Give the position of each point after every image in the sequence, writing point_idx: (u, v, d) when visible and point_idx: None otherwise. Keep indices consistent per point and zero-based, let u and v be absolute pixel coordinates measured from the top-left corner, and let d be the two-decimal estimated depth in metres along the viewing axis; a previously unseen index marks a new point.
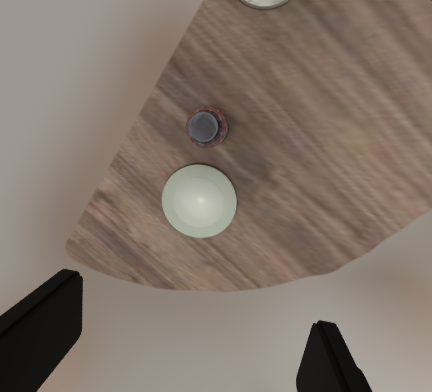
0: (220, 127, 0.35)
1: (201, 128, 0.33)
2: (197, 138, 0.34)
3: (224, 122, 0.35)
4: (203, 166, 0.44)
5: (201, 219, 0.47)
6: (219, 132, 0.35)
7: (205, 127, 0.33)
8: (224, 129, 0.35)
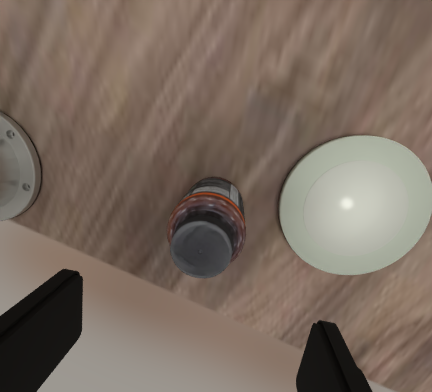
0: (198, 209, 0.17)
1: (204, 253, 0.16)
2: (225, 259, 0.16)
3: (189, 201, 0.18)
4: (282, 211, 0.25)
5: (390, 200, 0.23)
6: (208, 210, 0.17)
7: (199, 247, 0.16)
8: (202, 199, 0.17)
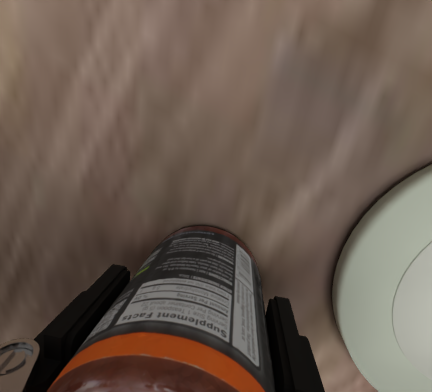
0: None
1: None
2: None
3: None
4: (345, 302, 0.12)
5: None
6: None
7: None
8: None
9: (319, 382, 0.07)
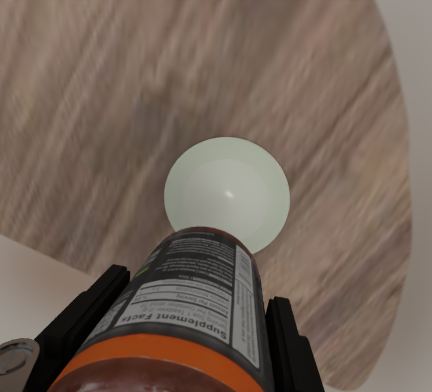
0: None
1: None
2: None
3: None
4: (166, 202, 0.28)
5: (253, 193, 0.27)
6: None
7: None
8: None
9: (319, 382, 0.07)
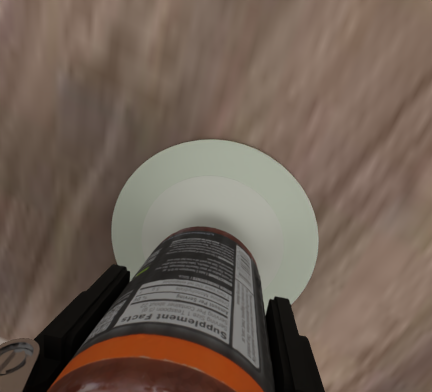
0: None
1: None
2: None
3: None
4: (115, 244, 0.18)
5: (257, 233, 0.16)
6: None
7: None
8: None
9: (319, 381, 0.07)
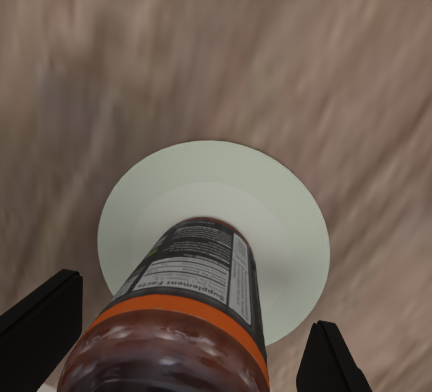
0: (128, 378, 0.05)
1: None
2: None
3: (107, 338, 0.06)
4: (101, 257, 0.16)
5: (261, 246, 0.14)
6: (159, 384, 0.05)
7: None
8: (143, 337, 0.06)
9: None
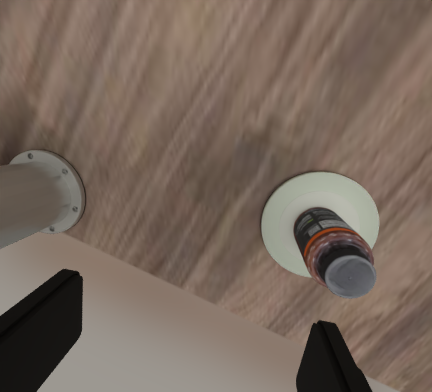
0: (340, 243, 0.22)
1: (353, 279, 0.20)
2: (370, 284, 0.20)
3: (329, 236, 0.22)
4: (262, 228, 0.32)
5: (345, 220, 0.30)
6: (349, 244, 0.22)
7: (350, 274, 0.20)
8: (341, 235, 0.22)
9: None
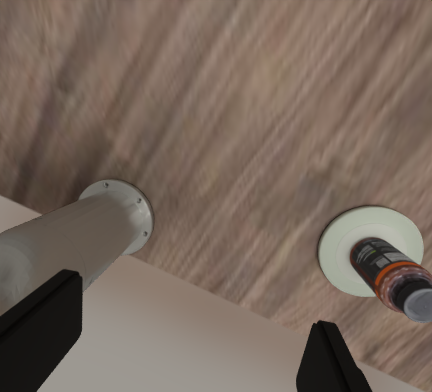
0: (413, 276, 0.26)
1: (427, 308, 0.25)
2: None
3: (402, 270, 0.27)
4: (321, 253, 0.37)
5: None
6: (420, 277, 0.26)
7: (425, 304, 0.25)
8: (412, 269, 0.27)
9: None
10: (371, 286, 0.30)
